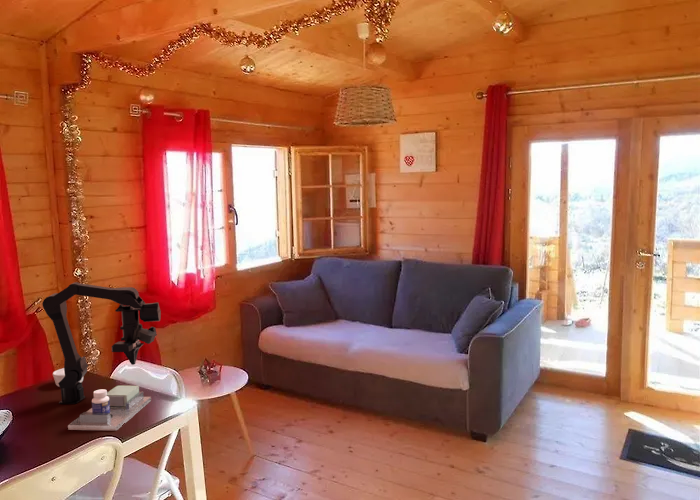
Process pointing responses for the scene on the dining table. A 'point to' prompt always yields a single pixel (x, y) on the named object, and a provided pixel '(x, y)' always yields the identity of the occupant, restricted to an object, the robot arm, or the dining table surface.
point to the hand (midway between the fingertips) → (133, 364)
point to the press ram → (122, 395)
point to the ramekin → (60, 376)
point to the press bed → (110, 415)
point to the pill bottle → (100, 401)
